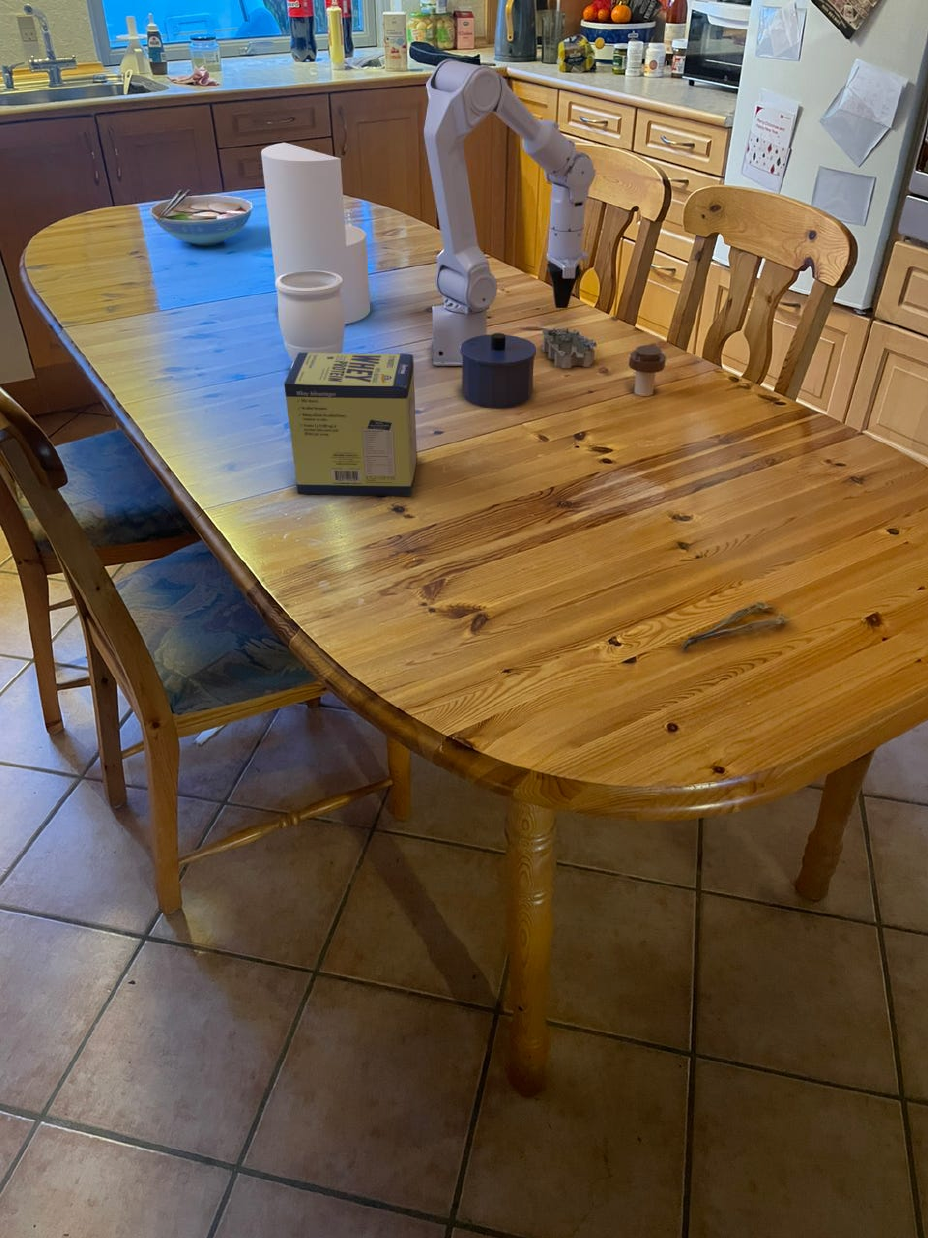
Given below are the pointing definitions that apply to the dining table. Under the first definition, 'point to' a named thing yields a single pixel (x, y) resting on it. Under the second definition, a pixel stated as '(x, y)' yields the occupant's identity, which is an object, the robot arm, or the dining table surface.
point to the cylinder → (314, 222)
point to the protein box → (352, 423)
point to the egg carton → (568, 347)
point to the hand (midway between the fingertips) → (561, 306)
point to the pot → (497, 384)
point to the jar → (311, 312)
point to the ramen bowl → (202, 217)
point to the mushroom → (646, 368)
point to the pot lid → (498, 350)
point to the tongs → (732, 619)
